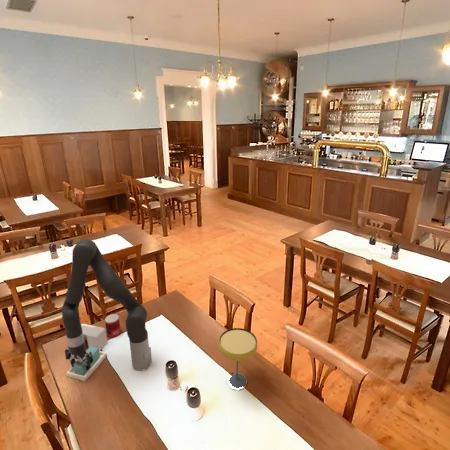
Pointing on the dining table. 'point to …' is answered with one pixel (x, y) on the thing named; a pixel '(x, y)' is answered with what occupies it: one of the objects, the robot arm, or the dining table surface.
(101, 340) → the box
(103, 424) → the dining table surface
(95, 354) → the teal box
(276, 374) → the dining table surface
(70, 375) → the tray
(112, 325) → the canned food
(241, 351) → the cocktail glass
